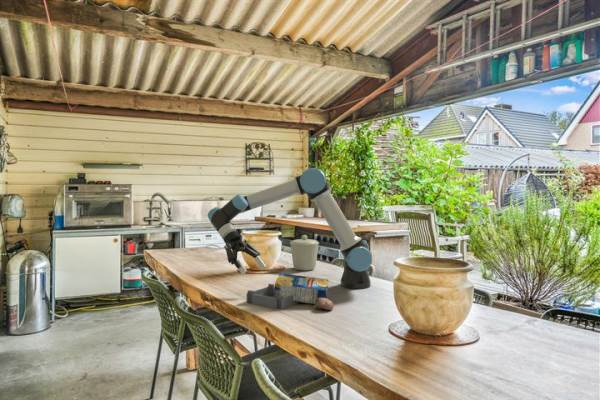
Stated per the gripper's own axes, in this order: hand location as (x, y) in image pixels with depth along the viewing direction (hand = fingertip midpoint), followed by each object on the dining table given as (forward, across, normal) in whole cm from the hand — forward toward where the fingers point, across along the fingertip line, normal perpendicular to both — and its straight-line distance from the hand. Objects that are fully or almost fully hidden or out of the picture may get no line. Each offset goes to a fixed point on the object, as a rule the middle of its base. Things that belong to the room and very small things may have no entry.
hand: (254, 270), depth 185 cm
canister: (-3, -68, -21) cm, 72 cm away
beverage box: (+12, -1, +5) cm, 13 cm away
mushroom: (+30, +1, +14) cm, 34 cm away
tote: (+17, 0, 0) cm, 17 cm away
